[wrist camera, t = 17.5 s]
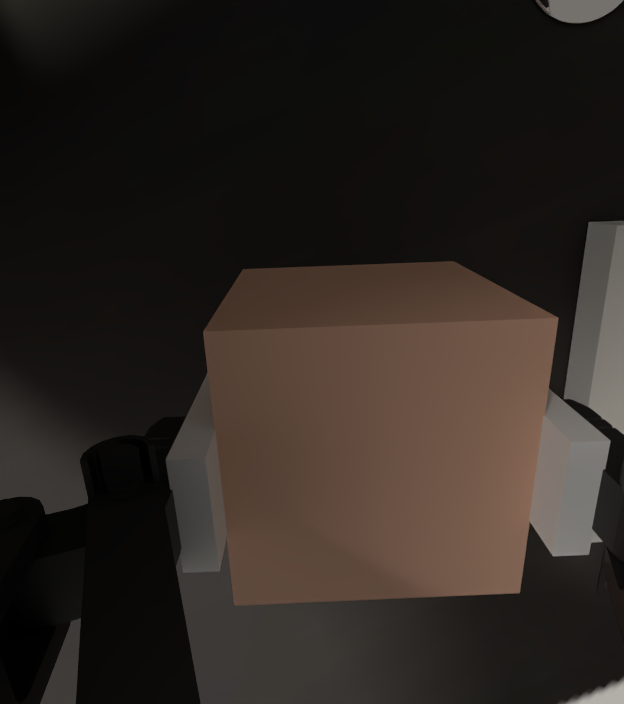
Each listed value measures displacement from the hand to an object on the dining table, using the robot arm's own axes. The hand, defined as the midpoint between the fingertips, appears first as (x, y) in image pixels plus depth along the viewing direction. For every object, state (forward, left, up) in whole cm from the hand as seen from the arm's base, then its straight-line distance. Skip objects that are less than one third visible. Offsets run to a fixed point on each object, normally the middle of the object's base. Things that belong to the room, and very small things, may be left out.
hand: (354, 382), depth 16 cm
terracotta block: (0, 0, -2) cm, 2 cm away
